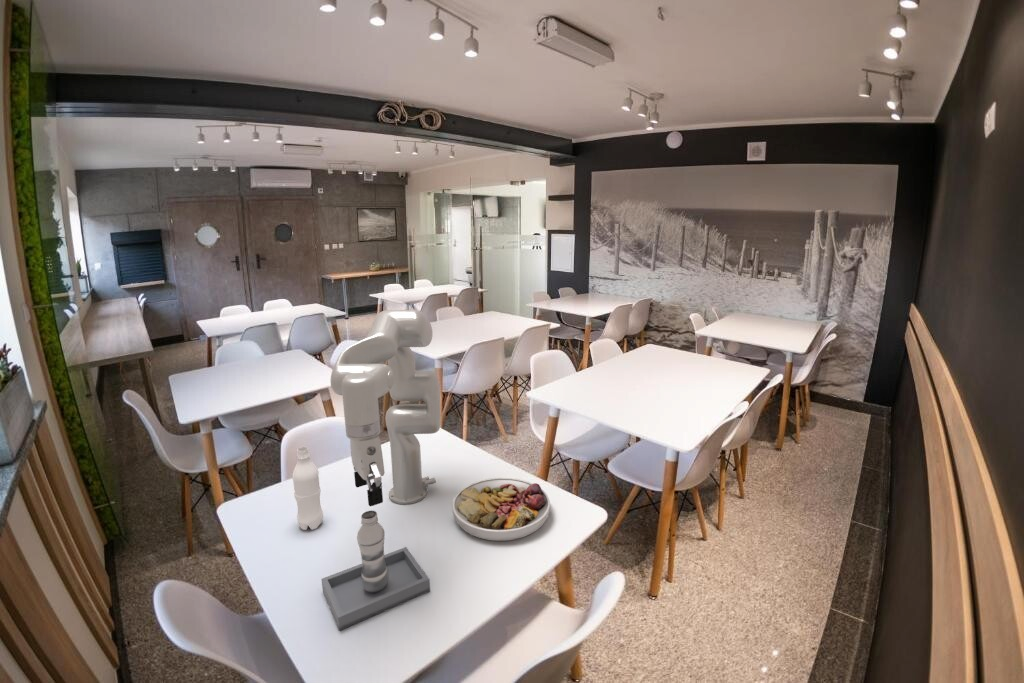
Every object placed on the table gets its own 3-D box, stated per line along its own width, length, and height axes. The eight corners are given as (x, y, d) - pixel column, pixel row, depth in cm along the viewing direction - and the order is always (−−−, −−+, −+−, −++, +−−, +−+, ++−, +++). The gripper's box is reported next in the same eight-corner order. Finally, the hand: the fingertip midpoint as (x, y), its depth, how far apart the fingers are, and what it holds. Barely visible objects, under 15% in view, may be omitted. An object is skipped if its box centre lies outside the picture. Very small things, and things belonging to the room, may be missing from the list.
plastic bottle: (394, 580, 125) (388, 509, 121) (379, 599, 119) (372, 525, 114) (372, 575, 127) (366, 505, 123) (356, 593, 121) (348, 520, 116)
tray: (406, 558, 135) (406, 546, 134) (430, 591, 123) (429, 578, 122) (322, 591, 123) (321, 578, 123) (339, 631, 111) (338, 617, 110)
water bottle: (315, 533, 146) (306, 455, 140) (293, 531, 147) (283, 453, 142) (328, 519, 153) (320, 444, 147) (307, 517, 154) (299, 442, 148)
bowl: (478, 559, 135) (478, 534, 133) (438, 506, 160) (437, 484, 159) (569, 526, 149) (569, 503, 147) (519, 482, 175) (519, 462, 173)
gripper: (392, 436, 108) (397, 506, 112) (367, 411, 122) (372, 474, 126) (358, 445, 104) (364, 517, 108) (335, 418, 118) (342, 483, 122)
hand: (368, 494), depth 117 cm, fingers open, 9 cm apart
